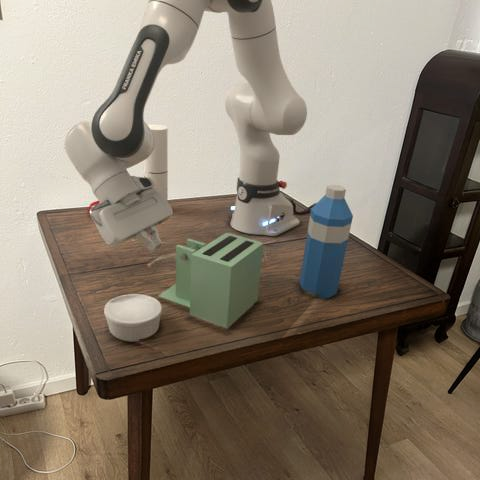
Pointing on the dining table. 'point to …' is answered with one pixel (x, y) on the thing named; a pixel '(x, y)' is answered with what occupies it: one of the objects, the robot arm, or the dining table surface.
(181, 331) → the dining table surface
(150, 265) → the lever
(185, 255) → the switch bracket
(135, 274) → the dining table surface
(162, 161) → the cylindrical container
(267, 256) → the dining table surface
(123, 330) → the ramekin
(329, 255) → the water bottle
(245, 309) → the toaster
